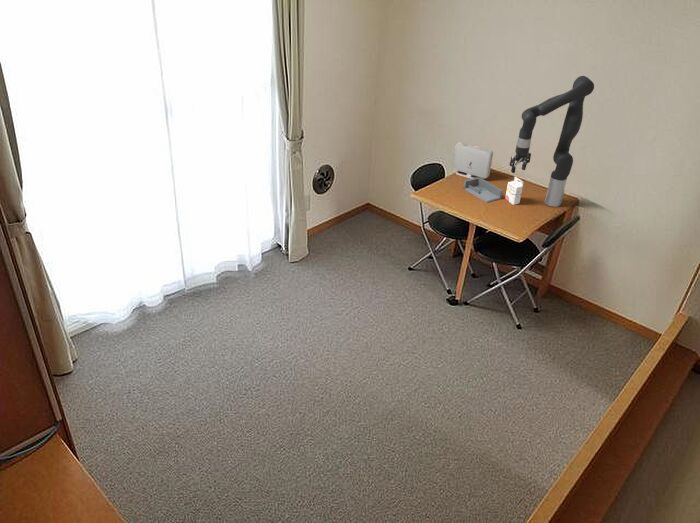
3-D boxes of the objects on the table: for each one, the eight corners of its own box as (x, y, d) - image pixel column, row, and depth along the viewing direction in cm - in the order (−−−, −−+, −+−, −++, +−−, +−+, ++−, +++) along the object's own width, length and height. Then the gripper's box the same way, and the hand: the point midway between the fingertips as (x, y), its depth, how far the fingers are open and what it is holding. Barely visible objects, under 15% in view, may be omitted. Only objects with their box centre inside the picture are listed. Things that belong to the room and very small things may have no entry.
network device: (449, 172, 374) (453, 144, 363) (456, 168, 380) (459, 140, 369) (484, 182, 361) (489, 153, 351) (490, 178, 367) (495, 149, 356)
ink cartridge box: (504, 199, 342) (508, 177, 334) (510, 197, 344) (515, 175, 336) (513, 205, 335) (517, 182, 327) (519, 203, 337) (524, 181, 329)
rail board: (477, 185, 358) (478, 176, 355) (501, 198, 342) (502, 190, 339) (463, 188, 353) (464, 180, 350) (486, 202, 337) (488, 194, 334)
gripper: (527, 141, 325) (522, 166, 334) (509, 145, 319) (504, 171, 328) (536, 145, 320) (531, 171, 329) (519, 149, 314) (514, 175, 323)
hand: (518, 171), depth 328 cm, fingers open, 8 cm apart
